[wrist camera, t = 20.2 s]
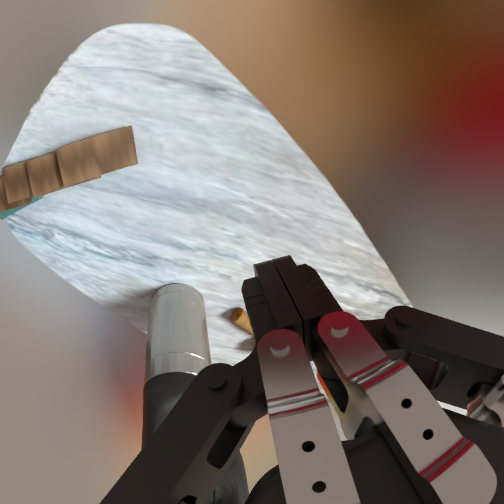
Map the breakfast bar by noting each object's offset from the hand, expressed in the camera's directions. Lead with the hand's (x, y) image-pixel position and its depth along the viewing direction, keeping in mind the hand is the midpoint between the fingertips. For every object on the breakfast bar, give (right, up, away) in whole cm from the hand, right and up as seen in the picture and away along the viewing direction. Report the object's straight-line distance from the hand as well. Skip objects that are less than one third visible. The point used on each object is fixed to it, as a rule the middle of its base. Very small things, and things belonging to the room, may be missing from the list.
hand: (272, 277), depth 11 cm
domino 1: (-16, +15, +19) cm, 28 cm away
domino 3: (-26, +12, +18) cm, 33 cm away
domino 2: (-21, +13, +18) cm, 31 cm away
